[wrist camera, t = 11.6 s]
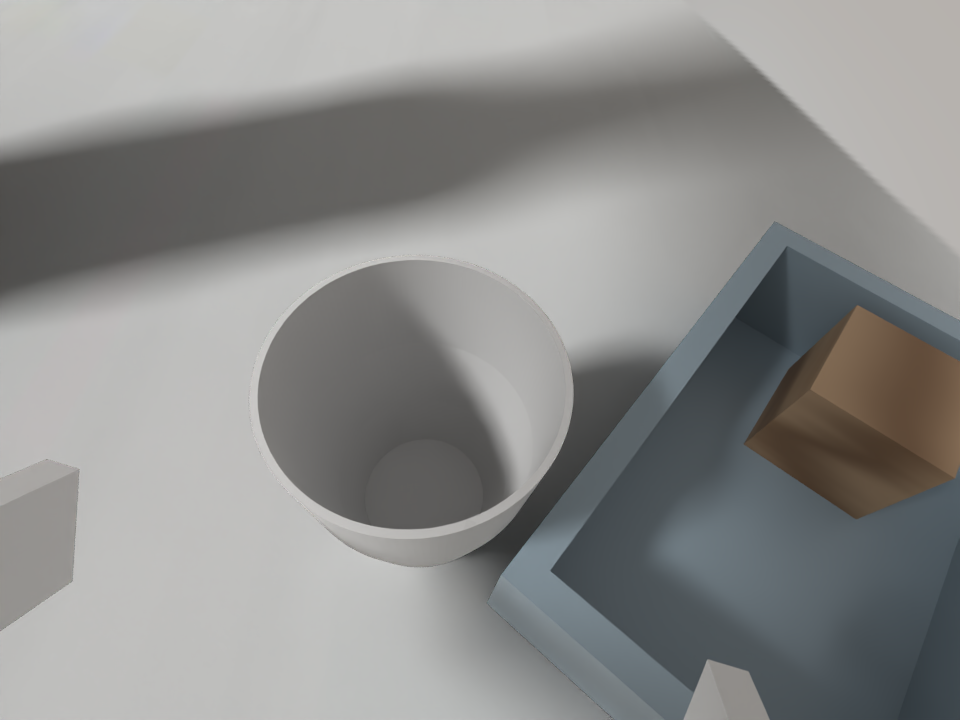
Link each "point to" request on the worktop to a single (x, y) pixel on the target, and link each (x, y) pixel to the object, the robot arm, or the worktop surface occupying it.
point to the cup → (412, 405)
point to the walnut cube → (865, 416)
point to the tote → (746, 531)
